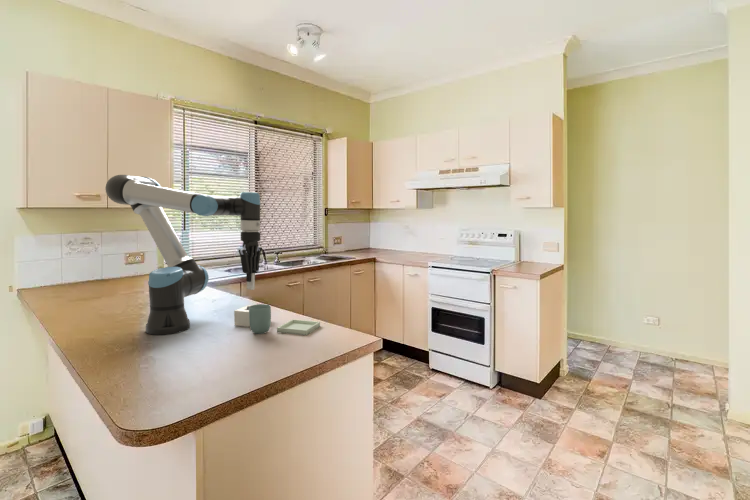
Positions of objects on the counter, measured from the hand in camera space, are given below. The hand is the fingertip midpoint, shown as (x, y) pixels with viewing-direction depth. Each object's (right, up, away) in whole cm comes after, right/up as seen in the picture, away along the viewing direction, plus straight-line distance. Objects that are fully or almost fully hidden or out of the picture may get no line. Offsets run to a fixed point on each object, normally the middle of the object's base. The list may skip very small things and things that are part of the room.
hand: (250, 289), depth 159 cm
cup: (+7, -15, -11) cm, 20 cm away
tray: (+21, -15, -7) cm, 27 cm away
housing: (0, -14, +1) cm, 14 cm away
